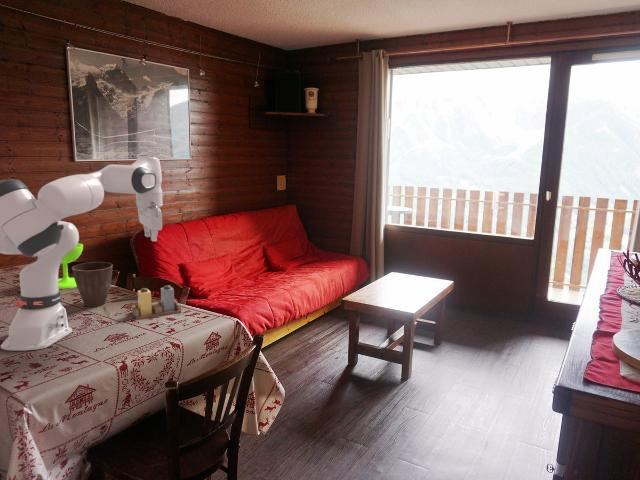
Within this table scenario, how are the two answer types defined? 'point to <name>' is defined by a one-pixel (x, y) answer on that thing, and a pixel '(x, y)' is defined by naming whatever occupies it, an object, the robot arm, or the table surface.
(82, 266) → the plant pot
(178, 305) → the slot rack
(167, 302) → the plug grey
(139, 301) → the plug ochre
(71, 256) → the wineglass
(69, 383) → the table surface
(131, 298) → the phone
